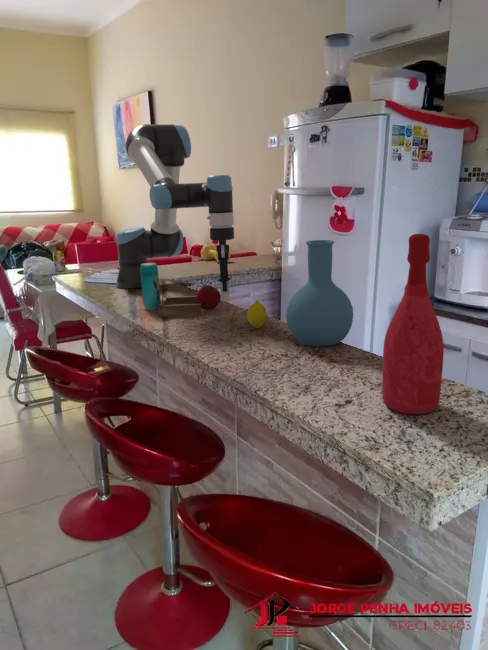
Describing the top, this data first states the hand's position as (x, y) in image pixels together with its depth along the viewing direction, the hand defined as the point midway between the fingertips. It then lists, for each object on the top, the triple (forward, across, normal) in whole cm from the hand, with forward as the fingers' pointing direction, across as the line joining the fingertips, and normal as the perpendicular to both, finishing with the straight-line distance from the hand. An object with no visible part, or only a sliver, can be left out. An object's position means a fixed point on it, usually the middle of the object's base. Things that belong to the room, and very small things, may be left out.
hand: (225, 300), depth 163 cm
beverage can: (+3, -6, -25) cm, 26 cm away
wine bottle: (+3, +78, +32) cm, 85 cm away
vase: (+3, +38, +24) cm, 45 cm away
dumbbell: (+3, -112, -5) cm, 112 cm away
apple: (+3, 0, -6) cm, 6 cm away
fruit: (+3, +24, +9) cm, 26 cm away
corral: (+3, 0, -14) cm, 14 cm away
